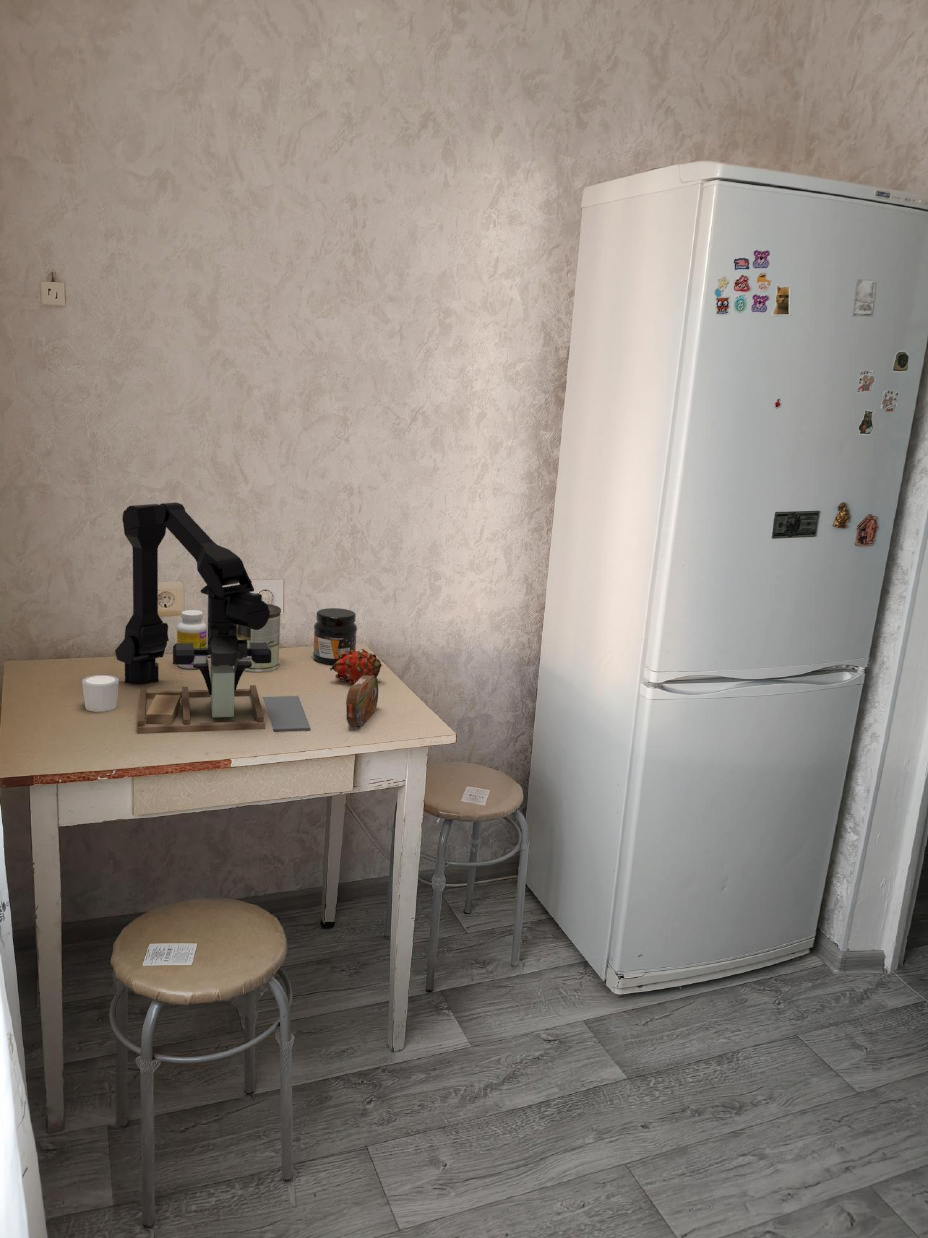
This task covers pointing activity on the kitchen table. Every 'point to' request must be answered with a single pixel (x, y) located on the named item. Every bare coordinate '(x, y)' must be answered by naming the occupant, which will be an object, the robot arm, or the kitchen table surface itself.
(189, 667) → the supplement bottle
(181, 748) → the kitchen table surface
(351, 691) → the tin
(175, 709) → the offcut short
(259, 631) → the coffee can
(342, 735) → the kitchen table surface
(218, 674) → the pale green block
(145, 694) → the rack
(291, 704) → the mat
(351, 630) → the supplement container
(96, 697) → the white cup
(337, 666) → the dragon fruit
